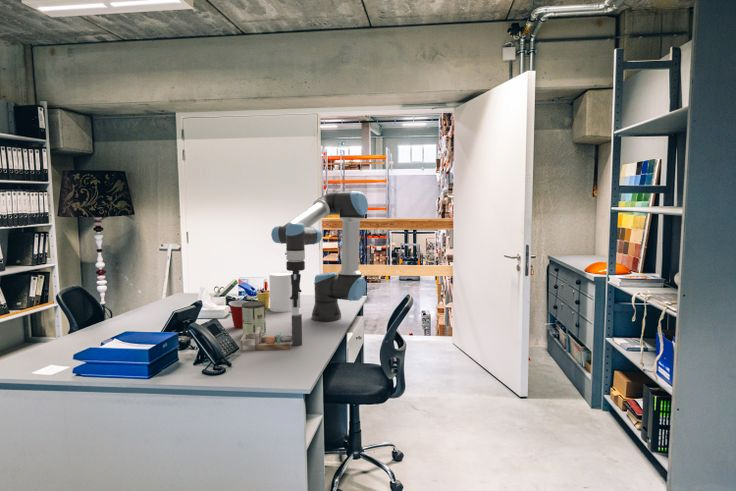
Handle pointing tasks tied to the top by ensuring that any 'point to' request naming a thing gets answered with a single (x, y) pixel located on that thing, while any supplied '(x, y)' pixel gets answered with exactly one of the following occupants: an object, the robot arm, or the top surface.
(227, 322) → the top surface
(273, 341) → the brown egg
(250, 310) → the coffee can
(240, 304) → the plastic cup
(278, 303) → the canister
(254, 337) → the lane
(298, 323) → the striker
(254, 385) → the top surface
